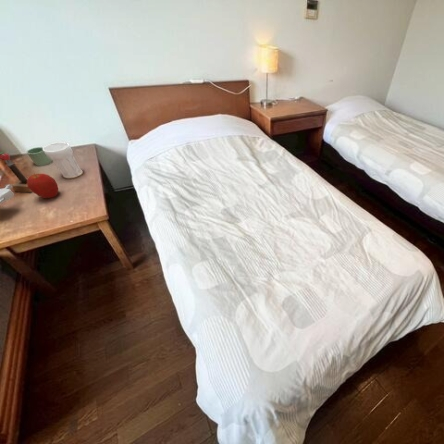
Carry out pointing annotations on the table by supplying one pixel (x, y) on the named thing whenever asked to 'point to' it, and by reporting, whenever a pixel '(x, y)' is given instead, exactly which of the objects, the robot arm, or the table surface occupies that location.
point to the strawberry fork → (13, 167)
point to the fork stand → (21, 186)
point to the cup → (63, 159)
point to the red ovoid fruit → (43, 185)
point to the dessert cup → (38, 156)
